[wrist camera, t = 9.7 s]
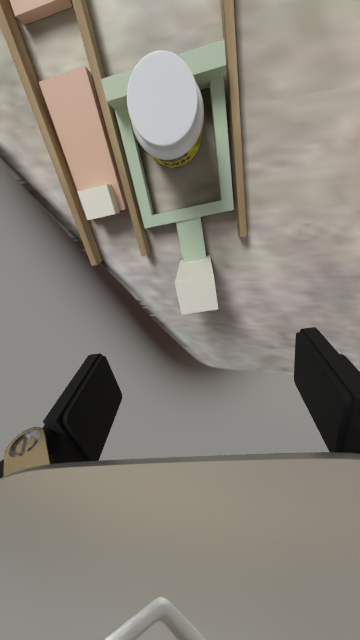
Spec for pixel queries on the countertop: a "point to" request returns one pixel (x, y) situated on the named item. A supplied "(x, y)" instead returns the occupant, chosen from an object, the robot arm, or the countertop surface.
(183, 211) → the green handled square frame
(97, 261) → the lane rails
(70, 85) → the broken strip
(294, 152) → the countertop surface
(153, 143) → the supplement bottle
